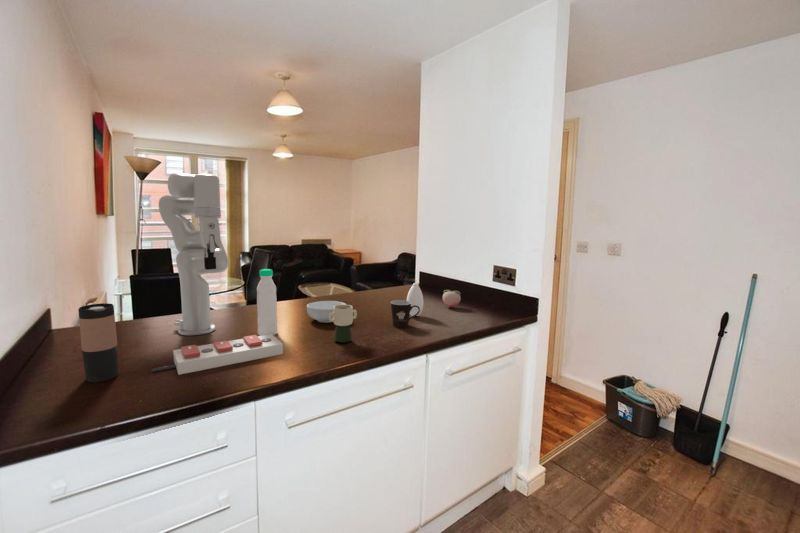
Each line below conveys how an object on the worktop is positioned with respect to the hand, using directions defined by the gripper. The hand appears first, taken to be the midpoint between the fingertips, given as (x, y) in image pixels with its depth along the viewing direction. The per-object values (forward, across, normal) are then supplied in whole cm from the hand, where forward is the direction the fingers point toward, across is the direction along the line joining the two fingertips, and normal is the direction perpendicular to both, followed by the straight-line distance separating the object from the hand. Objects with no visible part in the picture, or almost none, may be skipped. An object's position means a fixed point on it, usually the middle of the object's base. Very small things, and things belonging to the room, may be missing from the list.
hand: (210, 268), depth 125 cm
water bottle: (+27, +4, -20) cm, 34 cm away
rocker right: (+23, -13, -9) cm, 28 cm away
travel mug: (+27, -9, +30) cm, 41 cm away
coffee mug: (+27, -14, -70) cm, 77 cm away
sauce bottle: (+27, -5, -84) cm, 88 cm away
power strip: (+27, -13, 0) cm, 30 cm away
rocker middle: (+23, -13, -1) cm, 27 cm away
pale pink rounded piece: (+27, -2, -110) cm, 113 cm away
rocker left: (+23, -13, +8) cm, 28 cm away
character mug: (+27, -18, -40) cm, 52 cm away
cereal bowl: (+27, +10, -47) cm, 55 cm away
